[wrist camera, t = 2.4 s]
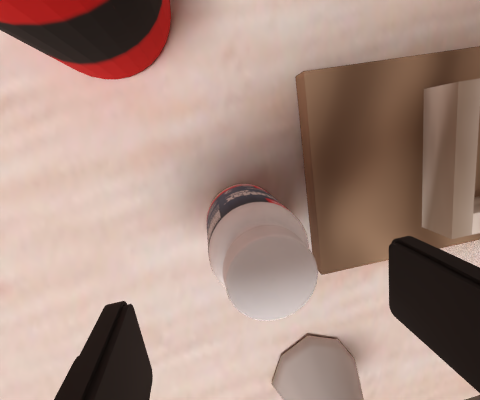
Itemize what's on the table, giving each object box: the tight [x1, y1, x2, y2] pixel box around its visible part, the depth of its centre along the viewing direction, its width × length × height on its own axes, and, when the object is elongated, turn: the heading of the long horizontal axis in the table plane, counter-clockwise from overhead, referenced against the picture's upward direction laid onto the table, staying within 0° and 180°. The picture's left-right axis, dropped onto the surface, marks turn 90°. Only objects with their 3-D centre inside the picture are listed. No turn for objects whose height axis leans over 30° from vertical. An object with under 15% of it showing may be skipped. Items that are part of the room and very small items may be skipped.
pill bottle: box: [207, 184, 318, 321], centre depth 16 cm, size 5×5×9 cm
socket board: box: [296, 46, 480, 275], centre depth 19 cm, size 18×14×4 cm
